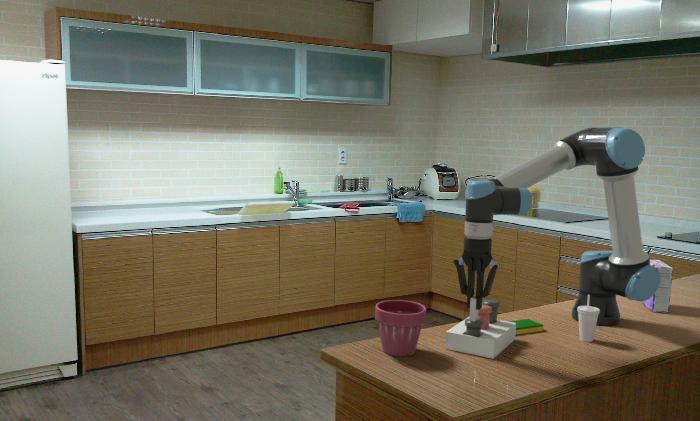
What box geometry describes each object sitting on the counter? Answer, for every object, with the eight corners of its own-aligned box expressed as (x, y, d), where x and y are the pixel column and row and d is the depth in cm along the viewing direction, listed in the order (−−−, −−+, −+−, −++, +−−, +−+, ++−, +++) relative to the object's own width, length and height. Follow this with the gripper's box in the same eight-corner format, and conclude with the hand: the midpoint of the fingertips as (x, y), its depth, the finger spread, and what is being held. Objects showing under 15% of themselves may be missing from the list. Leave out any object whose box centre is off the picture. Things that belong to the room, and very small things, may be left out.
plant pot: (432, 357, 175) (434, 311, 173) (383, 361, 171) (385, 314, 169) (412, 340, 188) (414, 298, 187) (367, 344, 184) (368, 300, 183)
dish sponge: (543, 332, 201) (543, 324, 201) (507, 336, 196) (508, 329, 195) (528, 325, 208) (528, 318, 208) (493, 330, 202) (493, 322, 202)
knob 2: (500, 320, 193) (501, 301, 193) (495, 324, 189) (496, 305, 188) (484, 318, 196) (485, 298, 195) (479, 321, 192) (480, 302, 191)
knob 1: (484, 341, 182) (485, 320, 181) (478, 345, 177) (479, 324, 177) (467, 337, 184) (468, 317, 184) (461, 342, 180) (462, 321, 179)
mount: (515, 339, 192) (516, 323, 191) (493, 358, 175) (494, 340, 174) (470, 330, 199) (471, 315, 199) (445, 348, 182) (445, 331, 182)
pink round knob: (493, 326, 187) (494, 306, 187) (487, 330, 183) (488, 310, 182) (476, 323, 190) (477, 303, 189) (470, 327, 186) (471, 307, 185)
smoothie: (571, 339, 193) (574, 294, 191) (580, 335, 198) (583, 290, 196) (592, 344, 189) (595, 298, 187) (601, 340, 193) (604, 294, 192)
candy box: (639, 302, 239) (643, 258, 237) (656, 303, 238) (660, 259, 236) (651, 312, 225) (655, 266, 223) (669, 313, 224) (673, 267, 222)
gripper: (450, 235, 177) (446, 319, 180) (496, 241, 171) (491, 327, 174) (460, 232, 184) (456, 313, 187) (505, 237, 177) (500, 321, 180)
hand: (473, 320), depth 180 cm, fingers closed
